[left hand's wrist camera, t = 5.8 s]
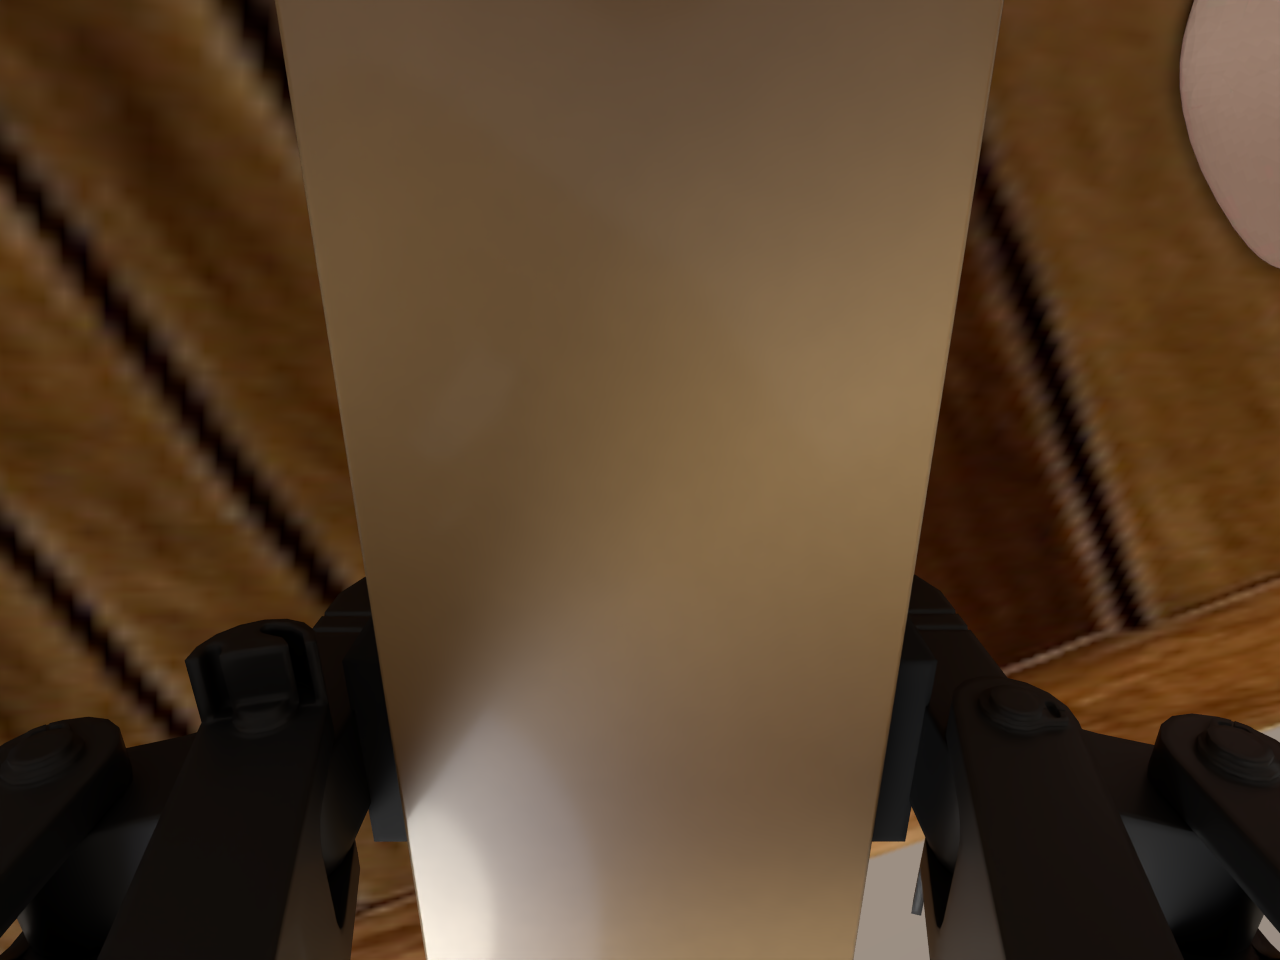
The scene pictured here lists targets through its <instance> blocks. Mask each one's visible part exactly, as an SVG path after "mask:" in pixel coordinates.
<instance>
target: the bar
mask: <svg viewBox="0 0 1280 960" xmlns="http://www.w3.org/2000/svg"><path fill="white" fill-rule="evenodd" d="M275 3H276V9H277V15H278V22H279V28H280V34H281V41H282V47H283V53H284V60H285V66H286V73H287V79H288V85H289V92H290V98H291V104H292V111H293V117H294V123H295V130H296V136H297V142H298V149H299V155H300V161H301V168H302V174H303V181H304V187H305V193H306V200H307V206H308V212H309V219H310V225H311V231H312V238H313V244H314V250H315V257H316V263H317V269H318V276H319V282H320V289H321V295H322V301H323V308H324V314H325V320H326V327H327V333H328V339H329V346H330V352H331V358H332V365H333V371H334V377H335V384H336V390H337V397H338V403H339V409H340V416H341V422H342V428H343V435H344V441H345V447H346V454H347V460H348V466H349V473H350V479H351V485H352V492H353V498H354V505H355V511H356V517H357V524H358V530H359V536H360V543H361V549H362V555H363V562H364V568H365V574H366V581H367V587H368V593H369V600H370V606H371V613H372V619H373V625H374V632H375V638H376V644H377V651H378V657H379V663H380V670H381V676H382V682H383V689H384V695H385V701H386V708H387V714H388V721H389V727H390V733H391V740H392V746H393V752H394V759H395V765H396V771H397V778H398V784H399V790H400V797H401V803H402V809H403V816H404V822H405V829H406V835H407V841H408V848H409V854H410V860H411V867H412V873H413V879H414V886H415V892H416V898H417V905H418V911H419V917H420V924H421V930H422V937H423V943H424V949H425V956H426V960H853V958H854V952H855V945H856V939H857V932H858V926H859V920H860V913H861V907H862V901H863V894H864V888H865V882H866V875H867V869H868V863H869V856H870V850H871V843H872V837H873V831H874V824H875V818H876V812H877V805H878V799H879V792H880V786H881V780H882V773H883V767H884V761H885V754H886V748H887V742H888V735H889V729H890V722H891V716H892V710H893V703H894V697H895V691H896V684H897V678H898V671H899V665H900V659H901V652H902V646H903V640H904V633H905V627H906V621H907V614H908V608H909V601H910V595H911V589H912V582H913V576H914V570H915V563H916V557H917V550H918V544H919V538H920V531H921V525H922V519H923V512H924V506H925V500H926V493H927V487H928V480H929V474H930V468H931V461H932V455H933V449H934V442H935V436H936V429H937V423H938V417H939V410H940V404H941V398H942V391H943V385H944V378H945V372H946V366H947V359H948V353H949V347H950V340H951V334H952V328H953V321H954V315H955V308H956V302H957V296H958V289H959V283H960V277H961V270H962V264H963V257H964V251H965V245H966V238H967V232H968V226H969V219H970V213H971V207H972V200H973V194H974V187H975V181H976V175H977V168H978V162H979V156H980V149H981V143H982V136H983V130H984V124H985V117H986V111H987V105H988V98H989V92H990V86H991V79H992V73H993V66H994V60H995V54H996V47H997V41H998V35H999V28H1000V22H1001V15H1002V9H1003V3H1004V0H275Z"/></svg>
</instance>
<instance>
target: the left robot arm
mask: <svg viewBox="0 0 1280 960" xmlns="http://www.w3.org/2000/svg"><path fill="white" fill-rule="evenodd" d="M185 663H186V667H187V671H188V674H189V678H190V682H191V685H192V689H193V693H194V696H195V700H196V704H197V707H198V711H199V714H200V718H201V722H202V723H201V725H200V727H199V730H198V732H197V733H193V734H190V735H186V736H182V737H178V738H173V739H168V740H163V741H158V742H154V743H149V744H144V745H139V746H135V747H130V748H126V747H125V744H124V741H123V738H122V735H121V732H120V729H119V727H118V726H116V725H115V724H114V723H112V722H111V721H110V720H108V719H102V718H94V717H83V718H75V719H68V720H61V721H57V722H53V723H50V724H49V725H43V726H40V727H37V728H34V729H32V730H30V731H28V732H27V733H25V734H23V735H21V736H19V737H17V738H14V739H12V740H10V741H8V742H6V743H4V744H3V745H2V746H0V937H1V936H2V935H3V934H4V933H5V932H6V930H7V929H8V928H9V927H10V926H11V924H12V923H13V922H14V921H15V920H16V919H18V921H19V924H20V926H21V928H22V930H23V931H22V933H21V934H20V935H19V936H18V937H17V939H16V940H15V941H14V942H13V944H12V945H11V946H10V947H9V948H8V949H7V950H5V951H4V952H3V953H2V954H1V955H0V960H350V957H351V948H352V939H353V929H354V920H355V911H356V902H357V892H358V883H359V874H360V865H359V859H358V852H357V847H356V842H355V838H356V835H357V833H358V831H359V829H360V826H361V824H362V822H363V820H364V818H365V815H366V813H367V811H368V809H369V814H370V820H371V825H372V831H373V836H374V841H407V835H406V829H405V822H404V816H403V809H402V803H401V797H400V790H399V784H398V778H397V771H396V765H395V759H394V752H393V746H392V740H391V733H390V727H389V721H388V714H387V708H386V701H385V695H384V689H383V682H382V676H381V670H380V663H379V657H378V651H377V644H376V638H375V632H374V625H373V619H372V613H371V606H370V600H369V593H368V587H367V581H366V577H364V578H363V579H361V580H359V581H358V582H356V583H355V584H353V585H352V586H350V587H349V588H347V589H346V590H344V591H342V592H341V593H339V595H338V596H337V597H336V599H335V600H334V601H333V602H332V604H331V605H330V606H329V608H328V609H327V610H326V612H325V616H322V617H321V618H320V619H319V621H318V622H317V623H316V625H315V626H314V627H313V629H312V628H311V627H309V626H308V625H307V624H305V623H303V622H299V621H294V620H290V619H270V620H261V621H256V622H252V623H247V624H242V625H239V626H236V627H234V628H231V629H229V630H226V631H224V632H221V633H219V634H216V635H215V636H213V637H211V638H210V639H208V640H207V641H205V642H204V643H202V644H200V645H199V646H197V647H196V648H195V649H194V651H193V652H192V653H191V654H190V655H189V656H188V657H187V659H186V660H185ZM911 806H912V808H913V811H914V813H915V815H916V817H917V819H918V822H919V824H920V826H921V828H922V831H923V833H924V835H925V842H924V847H923V853H922V858H921V863H920V868H919V873H918V878H917V884H916V889H915V894H914V899H913V906H912V912H911V913H912V914H916V915H921V912H922V908H923V903H924V909H925V918H926V927H927V937H928V946H929V955H930V960H1280V952H1279V951H1278V950H1277V949H1276V948H1275V947H1274V946H1273V945H1272V944H1271V943H1270V942H1269V941H1268V940H1267V939H1266V937H1265V936H1264V935H1263V934H1262V933H1261V931H1260V930H1259V929H1258V927H1259V924H1260V922H1261V920H1262V918H1263V915H1265V916H1266V917H1267V919H1268V920H1269V921H1270V922H1271V923H1272V924H1273V926H1274V927H1275V928H1276V929H1277V930H1278V931H1279V933H1280V742H1278V741H1277V740H1275V739H1273V738H1271V737H1269V736H1267V735H1265V734H1263V733H1261V732H1259V731H1256V730H1254V729H1253V728H1251V727H1249V726H1247V725H1244V724H1242V723H1239V722H1236V721H1235V722H1233V721H1231V720H1229V719H1225V718H1220V717H1215V716H1207V715H1199V714H1185V715H1177V716H1172V717H1170V718H1169V719H1168V720H1166V721H1165V722H1164V723H1162V724H1161V727H1160V730H1159V733H1158V736H1157V739H1156V742H1155V745H1151V744H1146V743H1141V742H1136V741H1132V740H1127V739H1122V738H1117V737H1112V736H1108V735H1103V734H1098V733H1094V732H1091V731H1087V730H1083V729H1082V728H1081V726H1080V724H1079V722H1078V720H1077V719H1076V718H1075V716H1074V715H1073V714H1072V712H1071V711H1070V709H1069V708H1068V707H1067V706H1066V705H1065V704H1063V703H1062V702H1060V701H1059V700H1058V699H1056V698H1055V697H1054V696H1052V695H1051V694H1050V693H1048V692H1046V691H1043V690H1041V689H1039V688H1037V687H1035V686H1032V685H1030V684H1028V683H1025V682H1021V681H1017V680H1013V679H1009V678H1007V677H1006V675H1005V674H1004V673H1003V671H1002V670H1001V669H1000V668H999V666H998V665H997V664H996V662H995V661H994V660H993V659H992V657H991V656H990V655H989V653H988V652H987V651H986V649H985V648H984V647H983V646H982V644H981V643H980V642H979V640H978V639H977V638H976V636H975V635H974V634H973V633H972V631H971V630H968V629H967V625H966V624H965V622H964V621H963V620H962V618H961V617H960V616H959V614H955V609H954V608H953V607H952V605H951V604H950V603H949V601H948V600H947V599H946V598H945V596H944V595H943V594H942V592H941V591H940V590H938V589H936V588H935V587H933V586H932V585H930V584H929V583H927V582H926V581H924V580H922V579H921V578H919V577H918V576H916V575H914V576H913V582H912V589H911V595H910V601H909V608H908V614H907V621H906V627H905V633H904V640H903V646H902V652H901V659H900V665H899V671H898V678H897V684H896V691H895V697H894V703H893V710H892V716H891V722H890V729H889V735H888V742H887V748H886V754H885V761H884V767H883V773H882V780H881V786H880V792H879V799H878V805H877V812H876V818H875V824H874V831H873V837H872V841H905V839H906V834H907V828H908V822H909V817H910V811H911Z"/></svg>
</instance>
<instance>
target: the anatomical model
mask: <svg viewBox="0 0 1280 960" xmlns="http://www.w3.org/2000/svg"><path fill="white" fill-rule="evenodd" d="M1180 94H1181V102H1182V109H1183V114H1184V118H1185V122H1186V127H1187V131H1188V135H1189V139H1190V142H1191V145H1192V147H1193V150H1194V153H1195V155H1196V158H1197V161H1198V163H1199V166H1200V169H1201V171H1202V173H1203V175H1204V177H1205V179H1206V181H1207V183H1208V185H1209V187H1210V189H1211V190H1212V192H1213V194H1214V196H1215V198H1216V200H1217V202H1218V204H1219V205H1220V207H1221V208H1222V210H1223V212H1224V213H1225V215H1226V216H1227V218H1228V220H1229V221H1230V223H1231V224H1232V226H1233V228H1234V229H1235V230H1236V232H1237V233H1238V234H1239V235H1240V237H1241V238H1242V239H1243V240H1244V242H1245V243H1246V244H1247V245H1248V247H1249V248H1250V249H1251V250H1252V251H1253V252H1254V253H1255V254H1256V255H1257V256H1259V257H1260V258H1261V259H1263V260H1264V261H1266V262H1267V263H1269V264H1270V265H1272V266H1275V267H1277V268H1280V0H1194V3H1193V6H1192V9H1191V12H1190V15H1189V18H1188V21H1187V25H1186V29H1185V33H1184V37H1183V43H1182V49H1181V56H1180Z"/></svg>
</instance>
